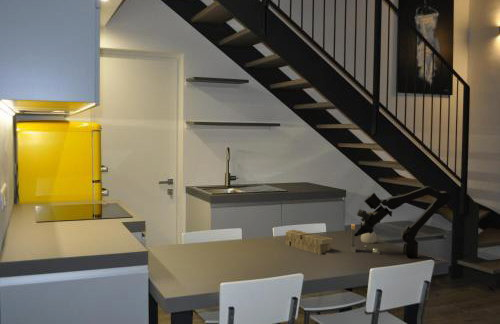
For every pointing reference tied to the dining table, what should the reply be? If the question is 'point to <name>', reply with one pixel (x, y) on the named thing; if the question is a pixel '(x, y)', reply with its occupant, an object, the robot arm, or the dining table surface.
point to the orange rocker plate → (353, 234)
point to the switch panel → (374, 251)
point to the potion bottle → (369, 237)
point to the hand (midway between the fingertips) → (354, 235)
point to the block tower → (308, 241)
